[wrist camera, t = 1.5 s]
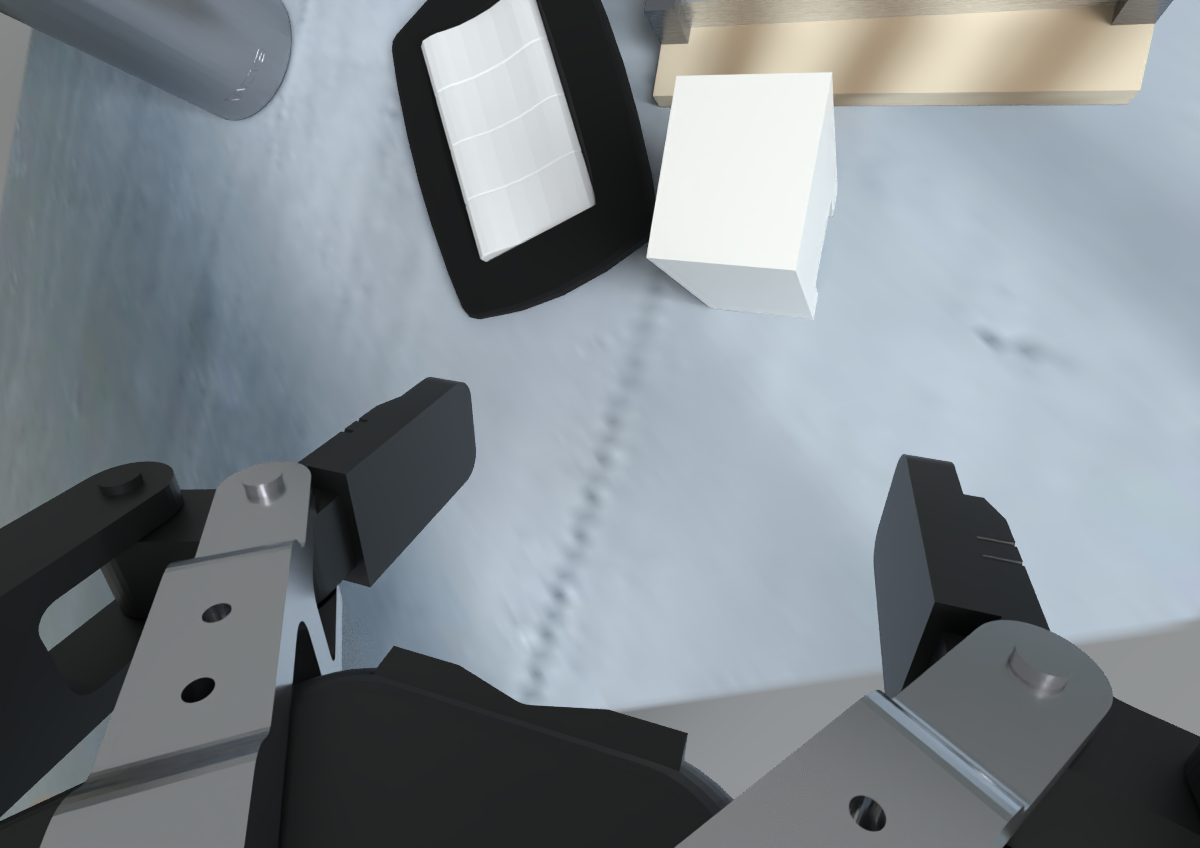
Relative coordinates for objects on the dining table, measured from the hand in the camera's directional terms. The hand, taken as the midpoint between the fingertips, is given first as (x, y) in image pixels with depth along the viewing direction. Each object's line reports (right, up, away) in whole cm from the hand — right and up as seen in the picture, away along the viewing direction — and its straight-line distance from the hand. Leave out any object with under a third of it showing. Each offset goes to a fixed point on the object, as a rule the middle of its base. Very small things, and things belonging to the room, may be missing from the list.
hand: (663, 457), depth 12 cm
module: (+7, +9, +19) cm, 22 cm away
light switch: (-6, +17, +25) cm, 30 cm away
